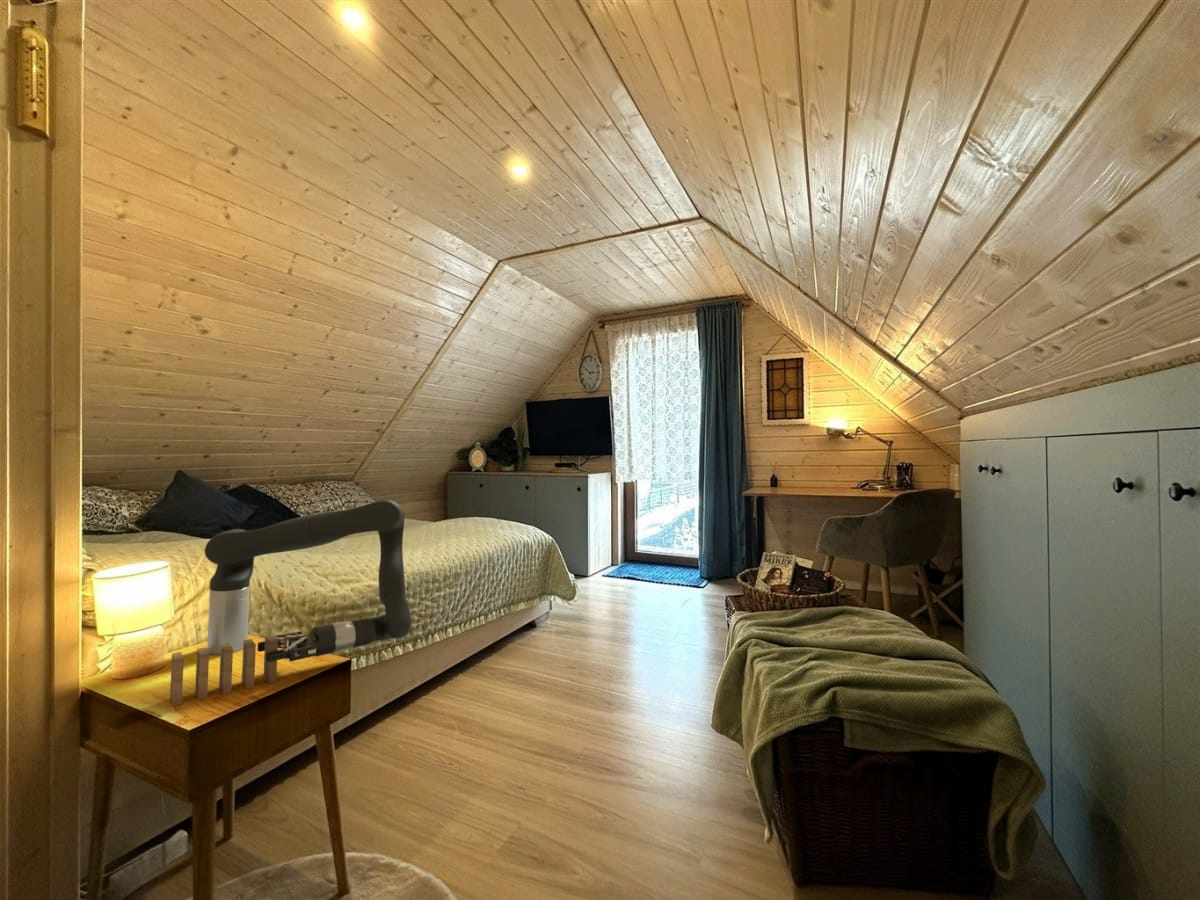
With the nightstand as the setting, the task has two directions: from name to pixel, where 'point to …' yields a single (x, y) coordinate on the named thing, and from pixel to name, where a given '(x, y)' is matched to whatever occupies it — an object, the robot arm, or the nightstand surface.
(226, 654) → the tile
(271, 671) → the loose tile
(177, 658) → the tile
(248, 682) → the tile
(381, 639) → the robot arm
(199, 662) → the wooden domino
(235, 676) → the nightstand surface
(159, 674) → the nightstand surface
